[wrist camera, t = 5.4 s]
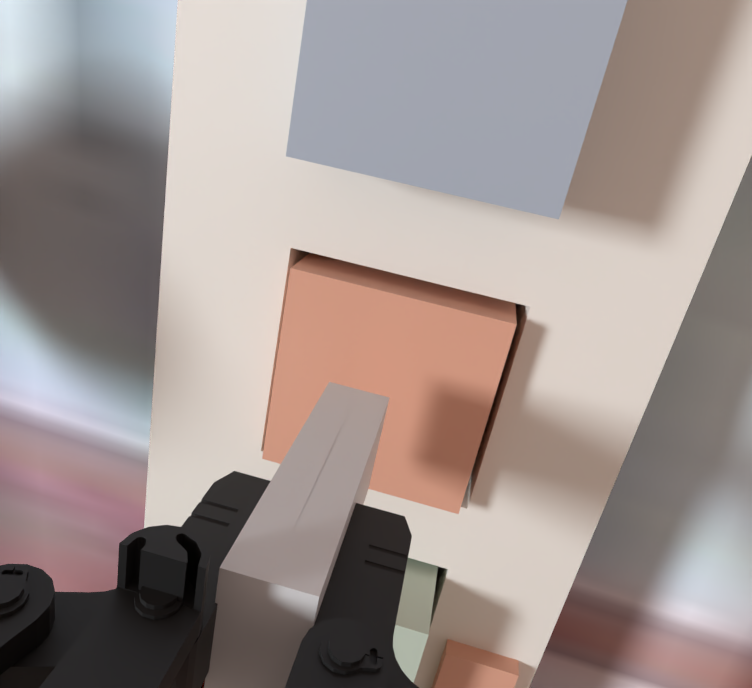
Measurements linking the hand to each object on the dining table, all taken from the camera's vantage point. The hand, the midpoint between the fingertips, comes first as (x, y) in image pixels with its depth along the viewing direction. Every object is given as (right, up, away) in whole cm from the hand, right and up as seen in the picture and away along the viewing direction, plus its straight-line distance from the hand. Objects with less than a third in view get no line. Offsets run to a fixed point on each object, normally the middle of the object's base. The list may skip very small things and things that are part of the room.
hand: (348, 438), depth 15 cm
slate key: (+3, +10, +1) cm, 10 cm away
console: (+2, +3, +6) cm, 7 cm away
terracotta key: (+2, +2, +6) cm, 7 cm away
